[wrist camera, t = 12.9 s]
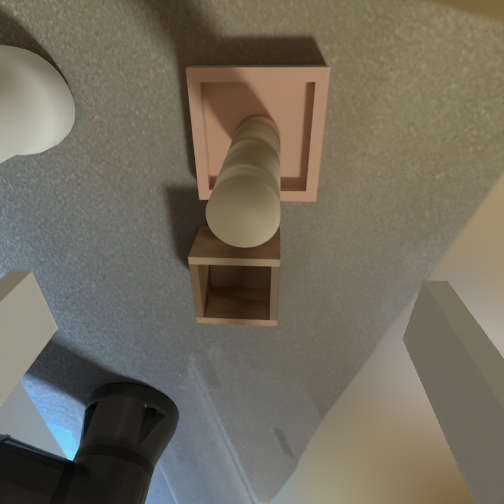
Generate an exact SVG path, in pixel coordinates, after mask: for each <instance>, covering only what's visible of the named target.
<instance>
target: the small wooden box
mask: <svg viewBox="0 0 504 504" xmlns="http://www.w3.org/2000/svg"><path fill="white" fill-rule="evenodd" d="M188 262H189V269H190V276H191V283H192V290H193V297H194V304H195V311H196V319H197V323H213V324H240V325H266V326H277V317H278V296H279V276H280V228H278V229H277V231H276V232H275V234H274V235H273V236H272V237H271V238H270V239H269V240H268V241H266V242H265V243H263V244H260V245H258V246H254V247H244V248H243V247H236V246H232V245H229V244H227V243H225V242H223V241H222V240H220V239H219V238H218V237H217V236H216V235H215V234H214V233H213V232H212V231H211V229H210V227H209V226H200V227H199V230H198V232H197V235H196V238H195V240H194V243H193V245H192V248H191V250H190V253H189V256H188Z"/></svg>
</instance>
